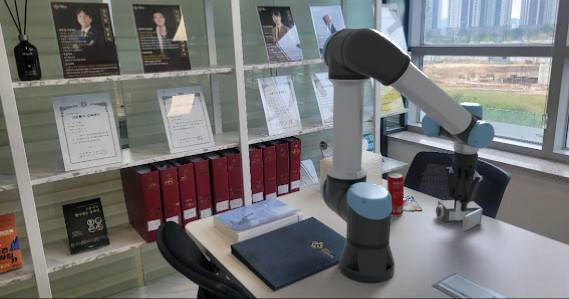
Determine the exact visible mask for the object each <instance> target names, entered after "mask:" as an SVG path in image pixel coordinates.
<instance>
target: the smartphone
mask: <svg viewBox="0 0 569 299" xmlns="http://www.w3.org/2000/svg"><path fill="white" fill-rule="evenodd" d="M409 196H411V195H409ZM409 196H408V195H407V197H409ZM407 197H405V198H407ZM411 198H412V199H411ZM409 199H411V200H410V201H411V202H409ZM414 199H415V197H414V196H413V195H412V196H411V197H409V198H407V199H406V200H403V212H423V209H422V208H421V206H420V205H419V203H418V202H417V200H416V199H415V200H416V201H415V200H414ZM417 203H418V204H417Z"/></svg>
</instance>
